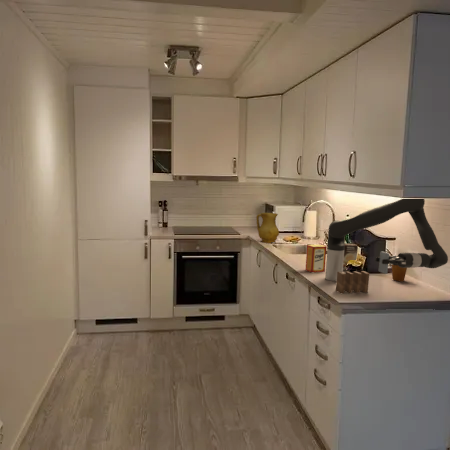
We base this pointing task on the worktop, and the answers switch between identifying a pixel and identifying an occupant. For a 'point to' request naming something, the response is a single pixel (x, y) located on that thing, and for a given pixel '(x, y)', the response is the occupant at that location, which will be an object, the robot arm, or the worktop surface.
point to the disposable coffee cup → (398, 273)
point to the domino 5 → (383, 267)
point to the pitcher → (267, 227)
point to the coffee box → (349, 253)
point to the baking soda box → (315, 258)
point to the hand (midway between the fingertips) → (379, 260)
